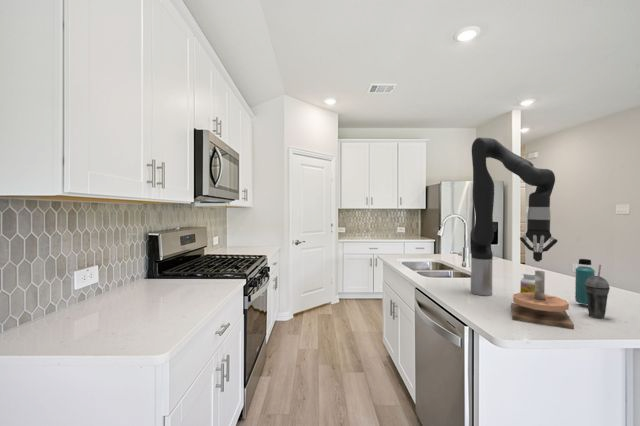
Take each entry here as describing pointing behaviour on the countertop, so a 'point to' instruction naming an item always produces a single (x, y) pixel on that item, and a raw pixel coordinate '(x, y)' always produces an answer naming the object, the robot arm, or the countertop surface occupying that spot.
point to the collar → (540, 302)
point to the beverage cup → (597, 295)
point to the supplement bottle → (528, 283)
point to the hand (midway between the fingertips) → (537, 261)
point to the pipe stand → (539, 315)
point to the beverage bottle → (583, 280)
